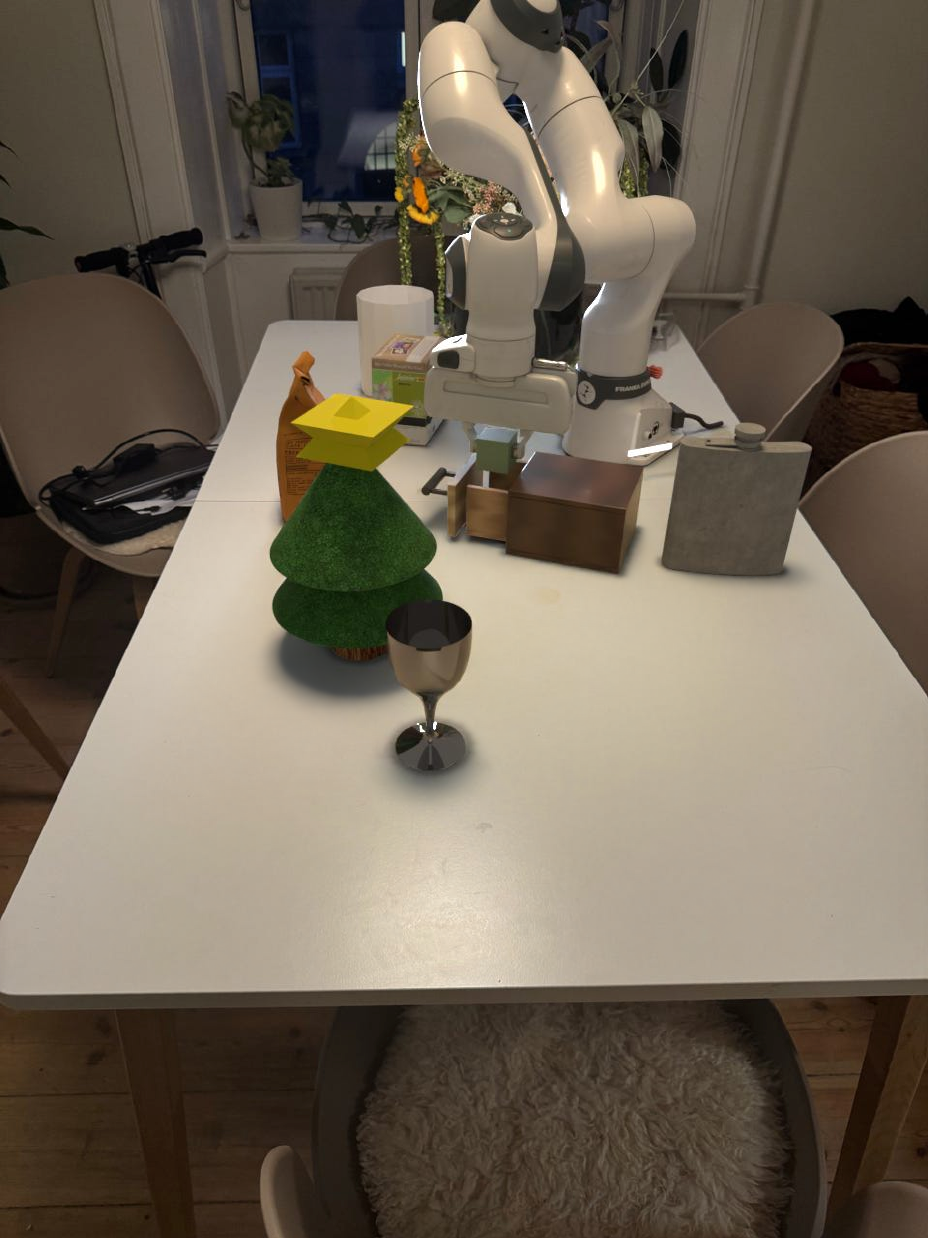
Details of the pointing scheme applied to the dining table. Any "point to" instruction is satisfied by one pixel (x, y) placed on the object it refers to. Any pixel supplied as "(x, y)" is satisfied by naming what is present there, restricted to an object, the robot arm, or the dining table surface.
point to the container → (390, 320)
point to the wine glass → (429, 675)
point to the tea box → (406, 382)
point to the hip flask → (734, 503)
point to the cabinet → (573, 511)
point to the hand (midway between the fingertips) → (496, 454)
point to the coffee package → (296, 438)
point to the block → (495, 450)
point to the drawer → (475, 499)
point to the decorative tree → (351, 534)
